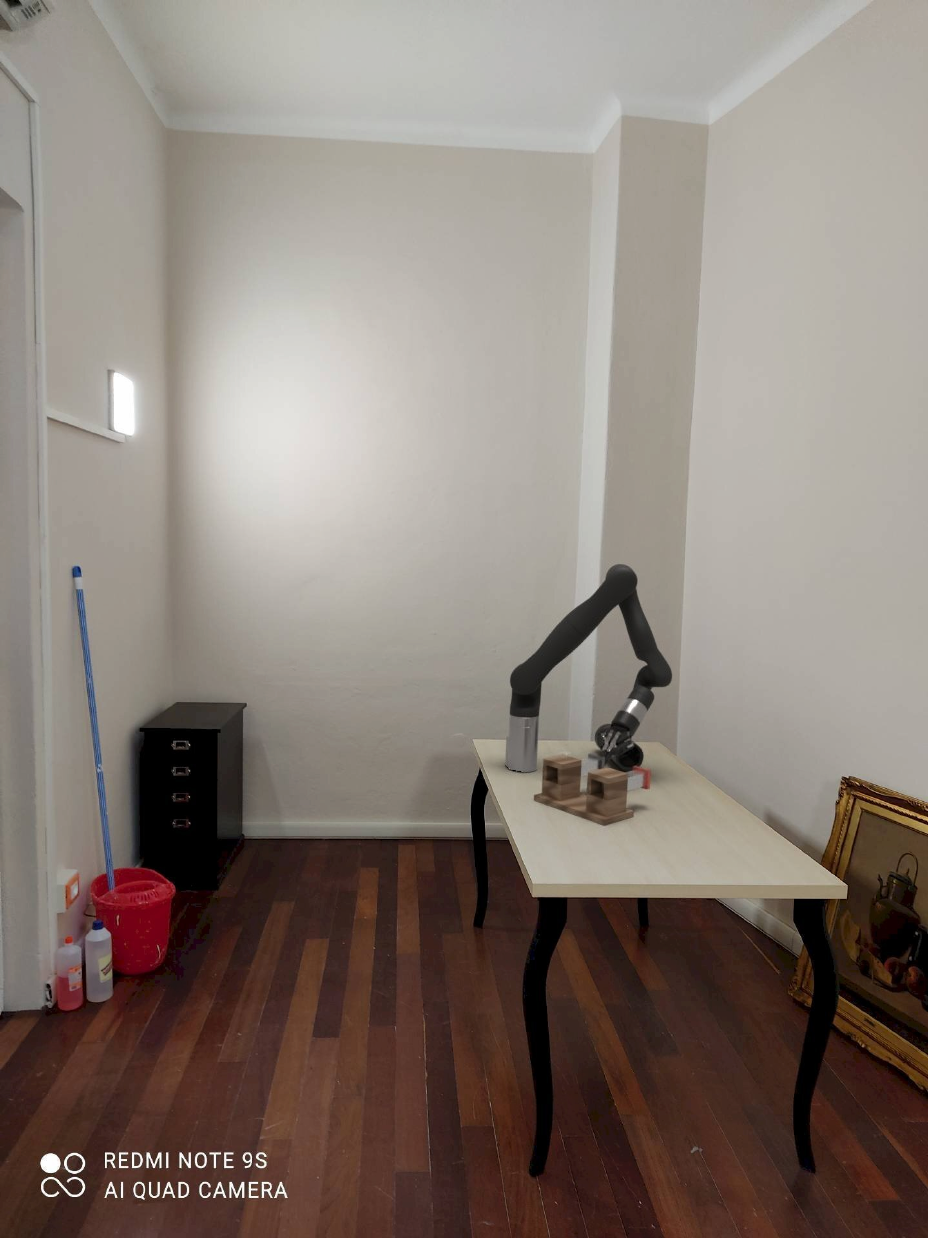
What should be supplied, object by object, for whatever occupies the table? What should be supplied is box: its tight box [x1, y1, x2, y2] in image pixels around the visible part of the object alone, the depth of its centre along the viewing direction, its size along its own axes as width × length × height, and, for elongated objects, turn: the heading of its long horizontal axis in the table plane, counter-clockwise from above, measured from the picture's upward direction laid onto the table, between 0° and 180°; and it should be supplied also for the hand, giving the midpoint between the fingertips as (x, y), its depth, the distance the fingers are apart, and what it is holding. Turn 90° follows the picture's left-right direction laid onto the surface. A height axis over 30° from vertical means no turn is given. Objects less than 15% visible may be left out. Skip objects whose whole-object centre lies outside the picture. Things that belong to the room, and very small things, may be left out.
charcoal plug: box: [557, 753, 606, 778], centre depth 239 cm, size 5×15×5 cm, turn 131°
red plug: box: [602, 766, 652, 792], centre depth 227 cm, size 5×15×5 cm, turn 131°
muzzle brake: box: [594, 723, 645, 772], centre depth 277 cm, size 10×28×10 cm, turn 5°
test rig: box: [533, 754, 635, 826], centre depth 228 cm, size 25×12×12 cm, turn 41°
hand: (600, 763), depth 245 cm, fingers closed
